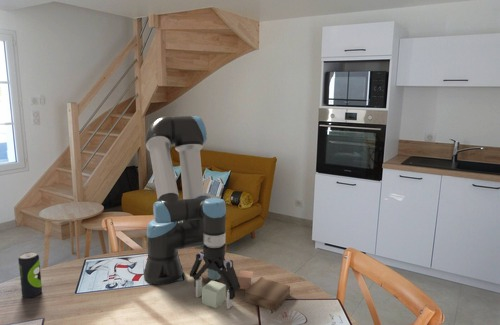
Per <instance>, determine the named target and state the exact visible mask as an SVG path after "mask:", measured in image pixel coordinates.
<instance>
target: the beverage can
mask: <svg viewBox="0 0 500 325" xmlns="http://www.w3.org/2000/svg"><path fill="white" fill-rule="evenodd" d="M18 268H19V269H18V270H19V278H20V279H19V280H20V289H21V295H22V296H23V297H24V298H26V299H28V298H35V297H37V296H39V295H40V294H41V293H42V291H43V287H42V286H43V284H42V275H41V274H42V272H41V263H40V255H39V253H38V252H37V251H35V250H33V251H26V252H23V253H21V254H19V255H18Z"/></svg>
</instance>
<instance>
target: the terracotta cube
mask: <svg viewBox="0 0 500 325" xmlns="http://www.w3.org/2000/svg"><path fill="white" fill-rule="evenodd" d="M237 279H238V281H239V284H240V288H239V289H238V290H245V291H246V290H247V289H249V288H250V287H251V286H252V285H253V284H254V271H251V270H250V271H249V270H248V271H247V270H241V269H240V271H239V273H238V275H237Z"/></svg>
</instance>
